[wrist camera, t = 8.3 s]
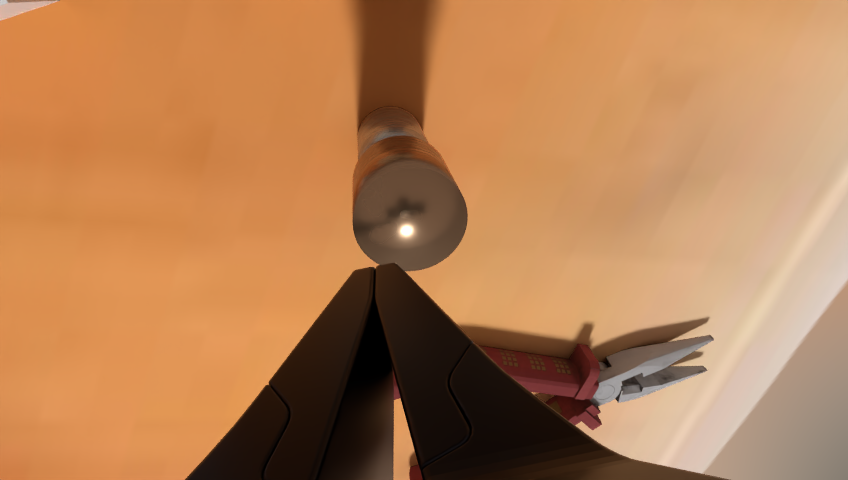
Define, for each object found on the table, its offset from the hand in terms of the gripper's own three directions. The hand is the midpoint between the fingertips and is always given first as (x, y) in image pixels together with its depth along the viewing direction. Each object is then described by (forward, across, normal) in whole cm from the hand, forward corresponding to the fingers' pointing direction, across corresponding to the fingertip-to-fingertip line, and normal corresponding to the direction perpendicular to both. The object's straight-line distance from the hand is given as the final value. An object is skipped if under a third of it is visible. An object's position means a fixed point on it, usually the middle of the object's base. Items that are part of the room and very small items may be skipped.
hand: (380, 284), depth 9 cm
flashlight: (+12, -1, +1) cm, 12 cm away
